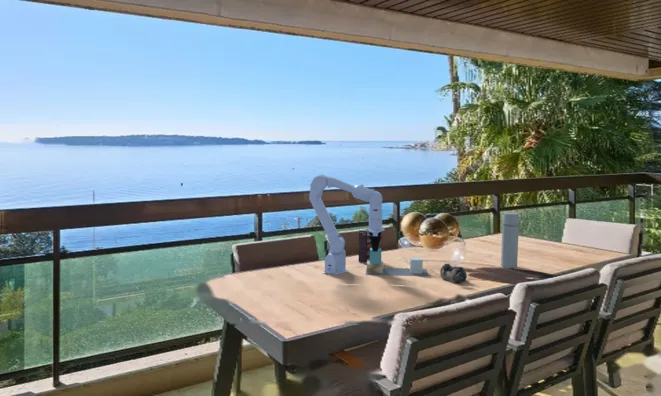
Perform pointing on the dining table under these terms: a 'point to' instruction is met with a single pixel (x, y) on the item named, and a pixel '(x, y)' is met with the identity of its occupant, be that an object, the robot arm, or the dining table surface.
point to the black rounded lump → (453, 273)
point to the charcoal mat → (399, 272)
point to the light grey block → (416, 265)
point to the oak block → (375, 268)
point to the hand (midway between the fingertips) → (375, 249)
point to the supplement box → (364, 246)
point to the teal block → (375, 256)
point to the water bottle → (510, 240)
